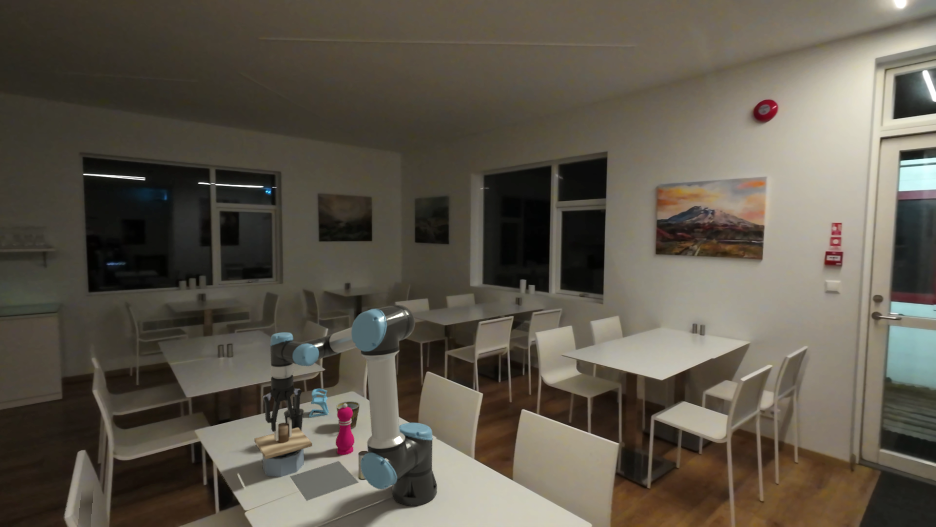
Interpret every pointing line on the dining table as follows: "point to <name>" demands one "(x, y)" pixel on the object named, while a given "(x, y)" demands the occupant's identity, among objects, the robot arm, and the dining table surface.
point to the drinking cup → (297, 419)
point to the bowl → (284, 464)
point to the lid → (282, 442)
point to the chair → (319, 402)
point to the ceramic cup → (355, 409)
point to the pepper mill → (345, 431)
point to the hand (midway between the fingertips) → (283, 437)
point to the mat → (323, 480)
